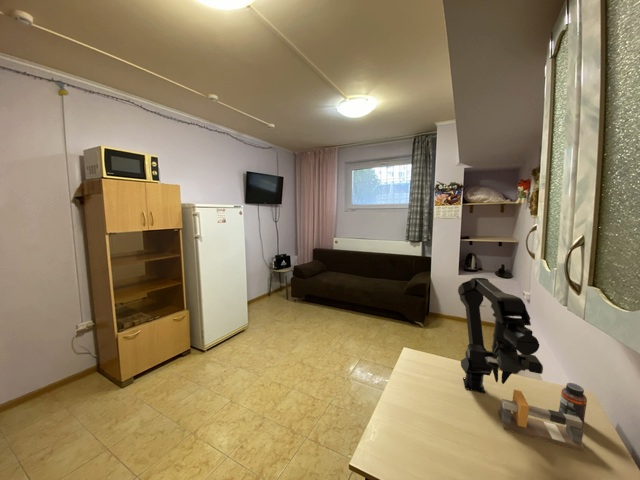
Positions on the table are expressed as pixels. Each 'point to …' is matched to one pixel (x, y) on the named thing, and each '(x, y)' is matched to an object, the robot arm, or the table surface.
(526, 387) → the table surface
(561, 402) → the supplement bottle
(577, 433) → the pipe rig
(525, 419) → the collar
